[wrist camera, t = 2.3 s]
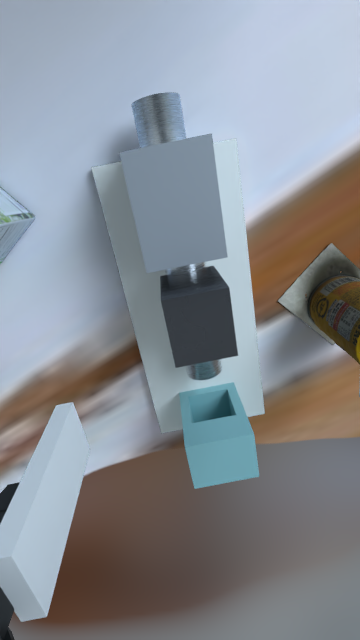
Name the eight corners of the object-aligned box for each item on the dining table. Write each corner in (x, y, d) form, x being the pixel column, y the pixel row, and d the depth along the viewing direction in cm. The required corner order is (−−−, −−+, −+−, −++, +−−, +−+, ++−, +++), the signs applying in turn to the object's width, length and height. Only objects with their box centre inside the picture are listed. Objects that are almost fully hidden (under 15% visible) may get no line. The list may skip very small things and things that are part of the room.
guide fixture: (93, 168, 27) (65, 159, 19) (233, 139, 27) (267, 118, 19) (161, 427, 38) (162, 494, 30) (262, 408, 38) (291, 470, 30)
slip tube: (126, 112, 24) (110, 73, 16) (184, 100, 24) (198, 55, 16) (180, 365, 32) (188, 424, 24) (223, 356, 32) (245, 413, 24)
